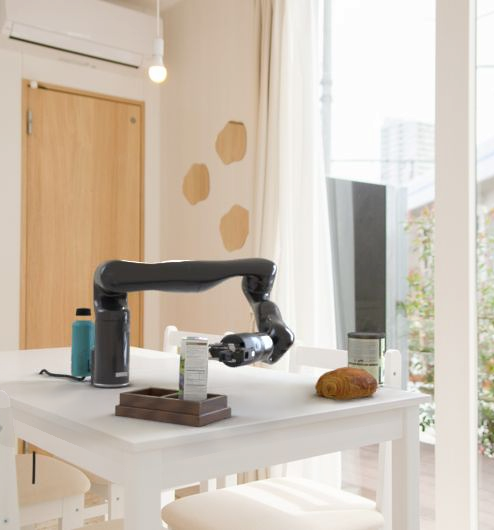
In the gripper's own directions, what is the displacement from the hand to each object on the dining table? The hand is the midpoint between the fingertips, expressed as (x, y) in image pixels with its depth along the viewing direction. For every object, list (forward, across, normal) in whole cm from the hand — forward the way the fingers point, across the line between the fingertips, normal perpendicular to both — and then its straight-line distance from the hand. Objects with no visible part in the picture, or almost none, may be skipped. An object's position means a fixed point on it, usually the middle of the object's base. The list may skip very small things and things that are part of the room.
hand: (202, 355), depth 146 cm
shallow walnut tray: (+4, +5, -12) cm, 14 cm away
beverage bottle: (-22, +54, -13) cm, 60 cm away
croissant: (-40, -16, -13) cm, 45 cm away
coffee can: (-60, -14, -13) cm, 63 cm away
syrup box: (+4, 0, -11) cm, 11 cm away
